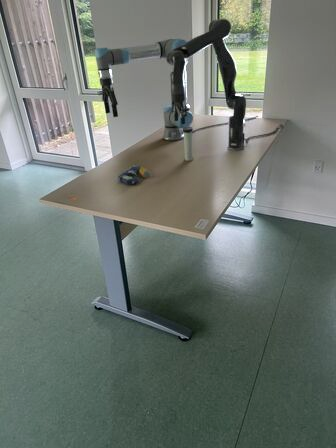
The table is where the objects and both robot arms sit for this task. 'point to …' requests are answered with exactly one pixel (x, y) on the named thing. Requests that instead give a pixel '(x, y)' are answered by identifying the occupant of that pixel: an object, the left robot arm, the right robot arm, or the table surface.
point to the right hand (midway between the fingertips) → (179, 122)
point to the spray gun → (133, 172)
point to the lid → (187, 129)
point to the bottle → (188, 146)
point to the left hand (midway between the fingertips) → (111, 114)
